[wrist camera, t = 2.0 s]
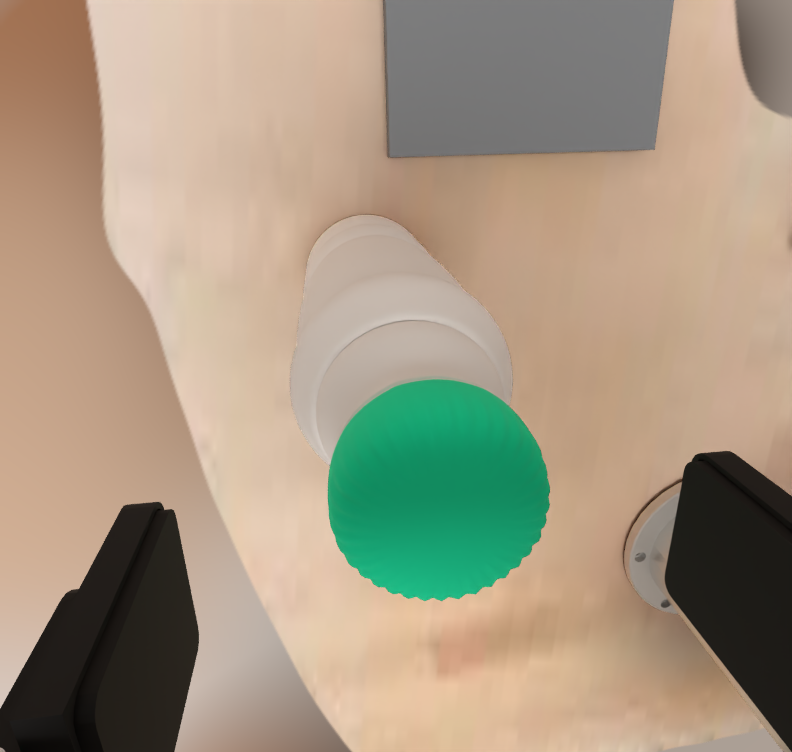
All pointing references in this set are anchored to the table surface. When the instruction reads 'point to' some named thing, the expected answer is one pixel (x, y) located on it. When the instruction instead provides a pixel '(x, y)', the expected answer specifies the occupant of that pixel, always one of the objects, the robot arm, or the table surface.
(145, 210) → the table surface
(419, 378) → the water bottle
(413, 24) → the slate mat
